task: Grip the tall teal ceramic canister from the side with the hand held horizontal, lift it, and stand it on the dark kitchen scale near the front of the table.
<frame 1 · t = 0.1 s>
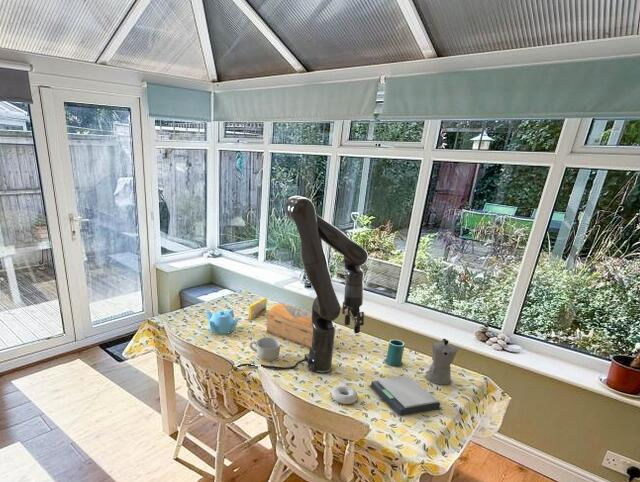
hand: (351, 328, 177), 17 cm above the table, tool pointing down, fingers open, 8 cm apart
wooden box: (298, 335, 210), on the table
canister: (393, 362, 185), on the table
scale: (403, 397, 160), on the table
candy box: (257, 315, 234), on the table
teapot: (221, 330, 215), on the table
coffeepot: (438, 377, 174), on the table
donut: (343, 398, 158), on the table
teacup: (264, 357, 188), on the table
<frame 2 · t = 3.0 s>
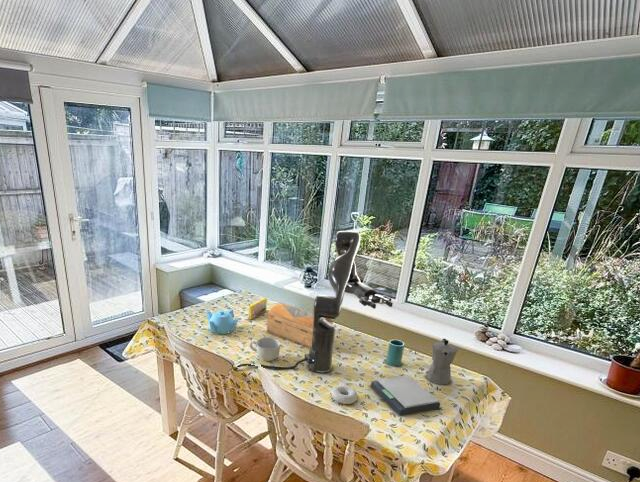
hand: (383, 305, 189), 22 cm above the table, tool horizontal, fingers open, 8 cm apart
nothing on the table moved.
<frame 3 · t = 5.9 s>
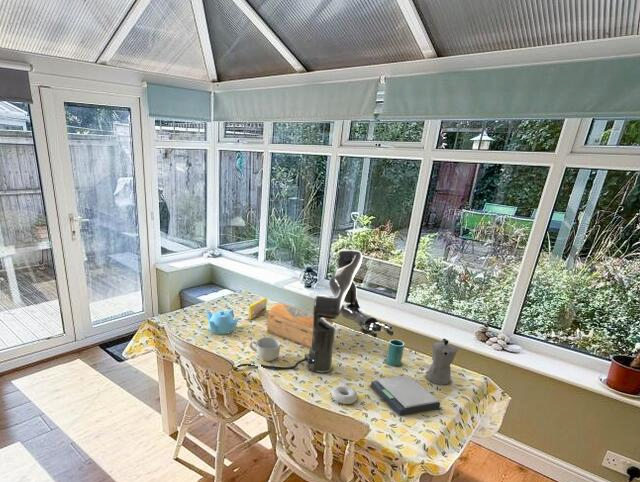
hand: (384, 334, 190), 9 cm above the table, tool horizontal, fingers open, 8 cm apart
nothing on the table moved.
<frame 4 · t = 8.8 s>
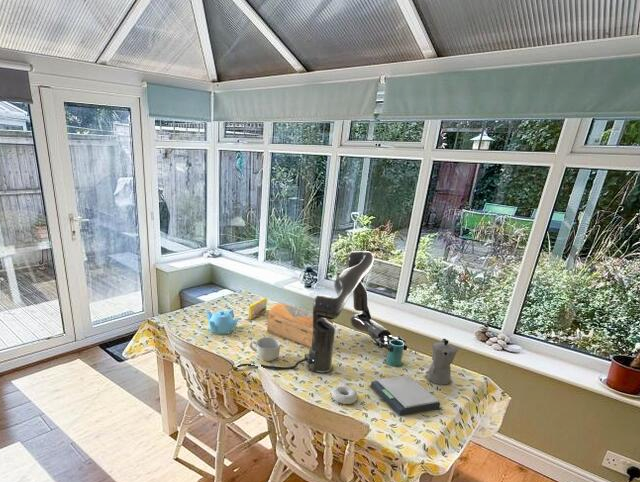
hand: (399, 349, 180), 8 cm above the table, tool horizontal, fingers closed on canister, 6 cm apart
canister: (393, 362, 185), on the table, touching gripper
everything else where it was.
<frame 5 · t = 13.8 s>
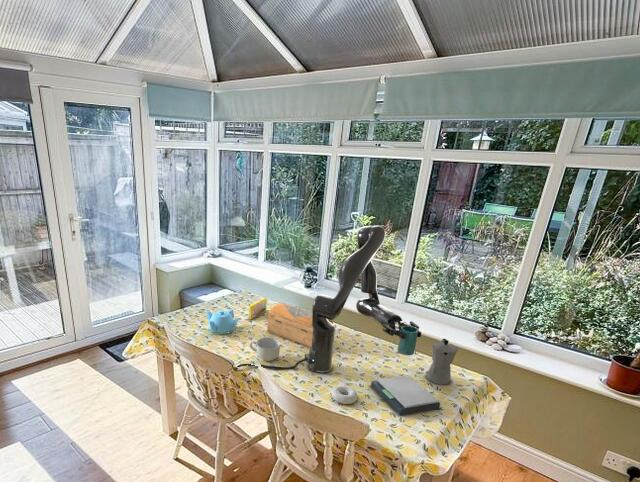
hand: (412, 336, 160), 22 cm above the table, tool horizontal, fingers closed on canister, 6 cm apart
canister: (405, 351, 165), point 14 cm above the table, touching gripper
everything else where it was.
when the fingers open (11 cm above the table, at t = 18.8 s): canister stays where it is, resting on scale.
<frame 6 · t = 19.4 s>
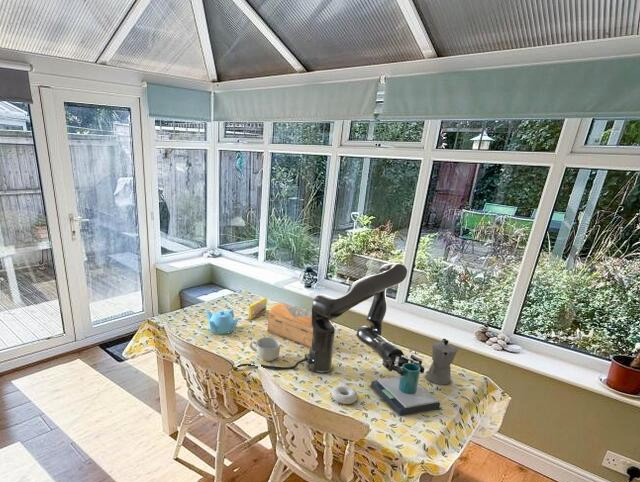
hand: (413, 372, 154), 12 cm above the table, tool horizontal, fingers open, 8 cm apart
canister: (407, 389, 159), point 3 cm above the table, touching scale
everything else where it was.
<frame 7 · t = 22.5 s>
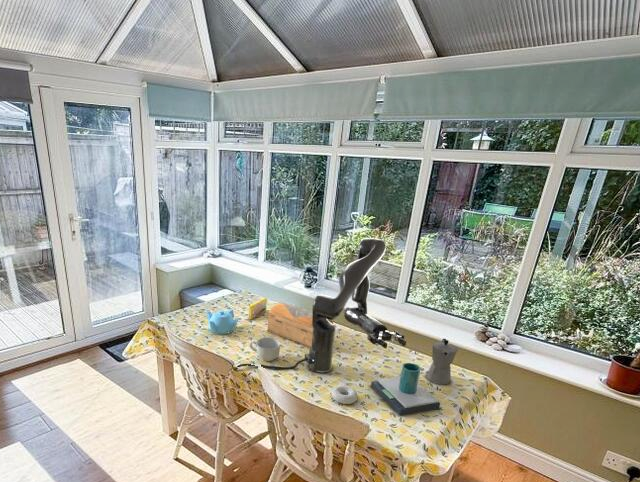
hand: (395, 345, 163), 17 cm above the table, tool horizontal, fingers open, 8 cm apart
nothing on the table moved.
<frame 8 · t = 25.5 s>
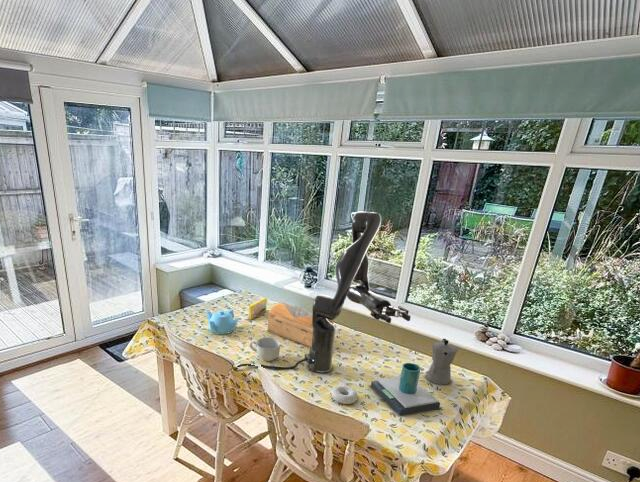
hand: (400, 319, 159), 28 cm above the table, tool horizontal, fingers open, 8 cm apart
nothing on the table moved.
at the end: canister inside the target area on the scale (0.6 cm from its centre), point 3.2 cm above the scale's base; canister tilted 0°; the gripper is holding nothing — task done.
